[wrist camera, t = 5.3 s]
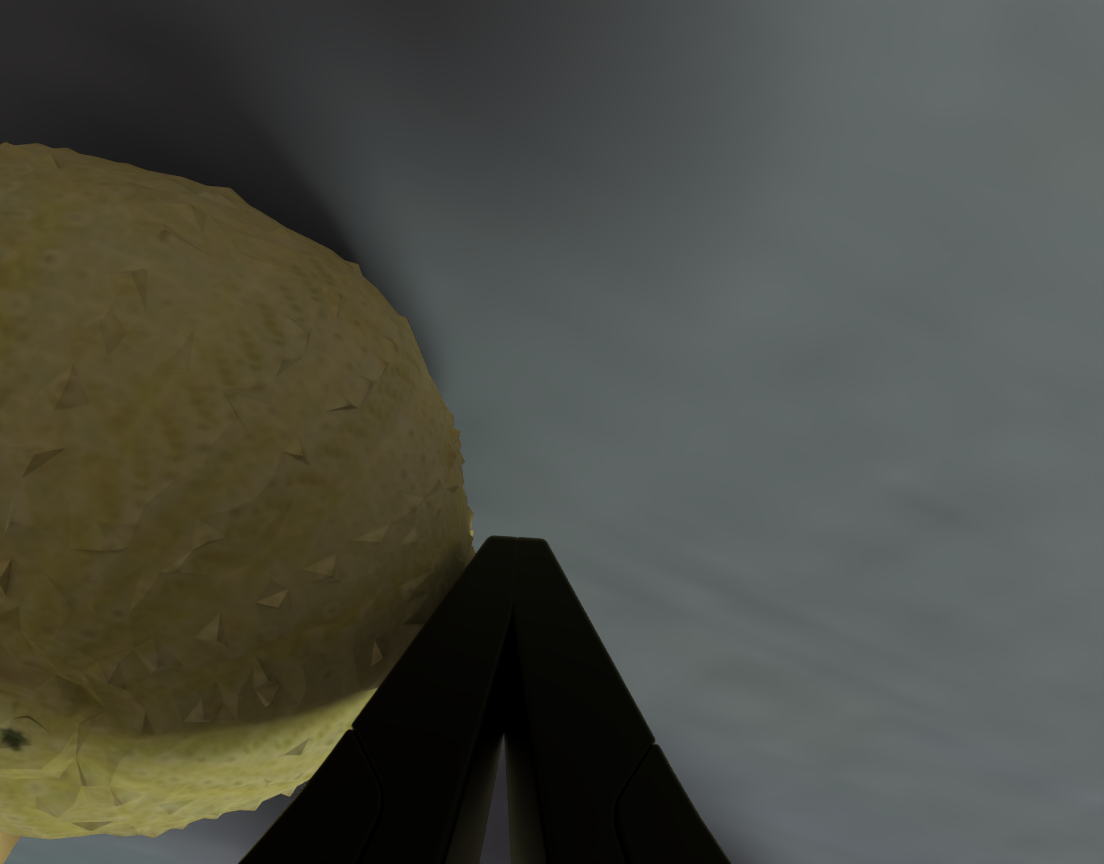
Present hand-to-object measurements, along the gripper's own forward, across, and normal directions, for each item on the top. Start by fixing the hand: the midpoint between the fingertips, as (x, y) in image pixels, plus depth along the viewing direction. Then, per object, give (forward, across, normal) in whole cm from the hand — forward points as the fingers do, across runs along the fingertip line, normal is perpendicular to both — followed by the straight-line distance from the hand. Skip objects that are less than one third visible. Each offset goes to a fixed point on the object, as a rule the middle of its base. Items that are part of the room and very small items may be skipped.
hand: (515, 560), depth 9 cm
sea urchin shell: (+2, +5, 0) cm, 6 cm away
